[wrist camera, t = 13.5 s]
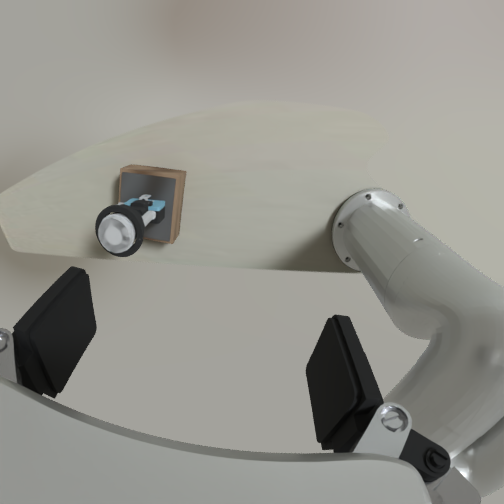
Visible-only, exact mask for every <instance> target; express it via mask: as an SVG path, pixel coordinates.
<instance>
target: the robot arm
mask: <svg viewBox="0 0 504 504" xmlns="http://www.w3.org/2000/svg"><path fill="white" fill-rule="evenodd" d="M366 195H367V197H365V196H366ZM398 205H399V206H398ZM338 223H340V224H339V225H338ZM332 242H333V246H334V249H335V251H336V253H337V255H338V256H339V258H340V259H341V260H342V262H343V263H344V264H346V265H347V266H349V267H350V268H352V269H354V270H357V271H361V272H362V273H363V275H364V276H365V278H366V280H367V281H368V283H369V284H370V286H371V287H372V289H373V291H374V292H375V294H376V296H377V297H378V299H379V300H380V302H381V304H382V305H383V307H384V309H385V310H386V312H387V313H388V315H389V316H390V318H391V319H392V321H393V323H394V324H395V326H396V327H397V328H399V330H400V331H402V332H403V333H405V334H406V335H408V336H411V337H414V338H418V339H426V340H430V343H429V345H428V347H427V349H426V350H425V351H424V353H423V354H422V355H421V356H420V358H419V359H418V360H417V362H416V364H415V365H414V366H413V367H412V368H411V370H410V371H409V372H408V373H407V374H406V375H405V377H403V379H402V380H401V381H400V382H399V383H398V384H397V385H396V386H395V387H394V388H393V389H392V391H390V393H388V395H387V396H386V397H385V398H384V399H383V398H382V396H381V393H380V391H379V388H378V385H377V382H376V380H375V377H374V375H373V372H372V369H371V367H370V365H369V362H368V359H367V357H366V354H365V353H364V351H363V348H362V346H361V344H360V341H359V339H358V336H357V334H356V331H355V329H354V327H353V324H352V322H351V320H350V318H349V317H348V316H342V315H334V316H333V317H332V318H328V320H327V322H326V324H325V326H324V329H323V331H322V333H321V336H320V338H319V340H318V342H317V345H316V347H315V349H314V351H313V354H312V355H311V357H310V359H309V362H308V364H307V367H306V376H307V382H308V387H309V394H310V400H311V406H312V412H313V419H314V425H315V431H316V437H317V441H318V442H319V443H321V445H322V450H329V449H333V450H334V453H316V454H315V453H313V454H296V453H294V454H293V453H265V452H250V451H239V450H230V449H222V448H214V447H208V446H200V445H195V444H189V443H184V442H179V441H174V440H170V439H165V438H161V437H157V436H153V435H149V434H145V433H141V432H137V431H134V430H130V429H127V428H124V427H120V426H117V425H114V424H111V423H108V422H105V421H102V420H99V419H97V418H94V417H91V416H88V415H86V414H83V413H80V412H78V411H76V410H73V409H71V408H69V407H66V406H64V405H62V404H59V403H57V402H55V401H53V400H50V399H48V398H46V397H44V396H42V394H43V393H44V394H46V395H48V396H50V397H52V398H55V397H56V395H57V393H61V392H62V390H63V389H64V386H65V385H66V383H67V381H68V379H69V377H70V376H71V374H72V372H73V370H74V369H75V367H76V365H77V363H78V362H79V360H80V358H81V356H82V355H83V353H84V351H85V350H86V348H87V346H88V345H89V343H90V342H91V340H92V338H93V337H94V335H95V333H96V321H95V315H94V309H93V303H92V296H91V289H90V281H89V276H88V274H86V272H85V270H84V269H81V268H77V267H70V268H69V269H68V270H67V271H66V272H65V273H64V274H63V275H62V276H61V277H60V278H59V279H58V280H57V281H56V282H55V283H54V284H53V285H52V286H51V287H50V288H49V289H48V290H47V291H46V292H45V293H44V294H43V295H42V296H41V297H40V298H39V299H38V300H37V301H36V302H35V303H34V304H33V306H32V307H31V308H30V309H29V310H28V311H27V312H26V313H25V314H24V316H23V317H22V318H21V319H20V320H19V321H18V323H16V325H15V326H14V327H13V328H14V332H13V333H12V334H11V332H10V331H8V330H7V329H3V328H0V504H480V502H481V497H485V496H487V495H489V494H492V493H493V492H495V491H497V490H499V489H500V488H502V487H503V486H504V287H503V286H502V285H500V284H498V283H497V282H495V281H493V280H492V279H491V278H489V277H487V276H486V275H485V274H483V273H482V272H480V271H479V270H478V269H476V268H475V267H474V266H472V265H471V264H470V263H468V262H467V261H466V260H464V259H463V258H462V257H461V256H460V255H458V254H457V253H456V252H455V251H453V250H452V249H451V248H450V247H448V246H447V245H445V244H444V243H443V242H442V241H441V240H439V239H438V238H437V237H435V236H434V235H433V234H431V233H430V232H429V231H428V230H426V229H425V228H423V227H422V226H421V225H419V224H418V223H417V222H415V221H414V220H412V219H411V218H410V215H409V211H408V209H407V207H406V205H405V204H404V202H403V201H402V200H401V199H400V198H399V197H397V196H396V195H395V194H393V193H391V192H389V191H387V190H383V189H375V188H374V189H366V190H364V191H361V192H358V193H357V194H355V195H353V196H352V197H350V198H349V199H348V200H347V201H346V202H345V203H344V204H343V205H342V207H341V208H340V209H339V211H338V213H337V215H336V217H335V220H334V223H333V227H332ZM346 257H347V258H346Z"/></svg>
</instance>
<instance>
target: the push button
mask: <svg viewBox="0 0 504 504" xmlns="http://www.w3.org/2000/svg"><path fill="white" fill-rule="evenodd" d="M149 197H151V195H142V196H141V197H139V199H136V198H132V199H130V200H128V201H127V202H125V203H121V202H119V203H118V204H116V205H111V206H109V207H107V208H105V209H104V210H102V211H101V213H100V214H99V215H98V217H97V220H96V226H95V229H96V235H97V238H98V240H99V242H100V244H101V245H102V247H103V248H104V249H105V250H106V251H108V252H109V253H111V254H112V255H115V256H118V257H127V256H130V255H132V254H134V253H135V252H136V251H137V250H138V249H139V248H140V246H141V244H142V241H143V235H144V230H145V226H146V225H147V224H148V223H154V224H159V223H160V222H161V221H162V220H163V219H164V218H165V201H159V200H148V198H149ZM111 212H115V213H113V214H110V213H111ZM109 214H110V215H109ZM136 237H137V238H136ZM135 239H136V242H135V244H133V242H134V240H135Z"/></svg>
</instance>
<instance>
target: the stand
mask: <svg viewBox="0 0 504 504" xmlns="http://www.w3.org/2000/svg"><path fill="white" fill-rule="evenodd" d="M185 178H186V171H181V170H174V169H166V168H158V167H150V166H141V165H132V164H131V165H129V166H126V167H123V168H121V169H120V184H119V202H121V203H125V202H127V201H128V200H130V199H132V198H136V199H139V197H141V196H142V195H151V197H149V198H148V200H159V201H165V218H164V219H163V220H162V221H161V222H160V223H159V224H154V223H148V224H147V225H146V226H145V230H144V235H143V239H148V240H154V241H159V242H165V243H170V244H173V243H174V241H175V240H176V238H177V237H178V235H179V230H180V220H181V211H182V202H183V194H184V186H185Z"/></svg>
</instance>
